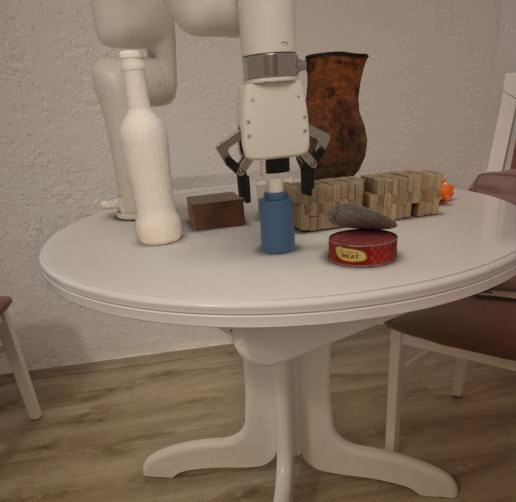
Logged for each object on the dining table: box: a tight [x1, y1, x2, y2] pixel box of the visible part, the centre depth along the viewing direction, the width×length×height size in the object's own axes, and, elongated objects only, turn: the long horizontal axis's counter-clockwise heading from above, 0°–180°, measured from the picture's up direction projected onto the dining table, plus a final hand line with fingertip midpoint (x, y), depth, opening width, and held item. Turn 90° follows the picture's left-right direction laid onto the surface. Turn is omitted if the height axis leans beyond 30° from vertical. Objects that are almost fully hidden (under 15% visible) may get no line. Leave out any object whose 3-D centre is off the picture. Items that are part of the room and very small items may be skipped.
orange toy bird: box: [440, 177, 456, 202], centre depth 102 cm, size 5×8×12 cm
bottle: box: [118, 49, 182, 246], centre depth 82 cm, size 8×8×30 cm
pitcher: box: [295, 50, 370, 181], centre depth 111 cm, size 17×21×30 cm
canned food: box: [327, 203, 399, 268], centre depth 70 cm, size 11×10×10 cm
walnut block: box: [186, 191, 246, 232], centre depth 98 cm, size 10×10×5 cm
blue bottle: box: [258, 177, 296, 255], centre depth 76 cm, size 5×5×11 cm
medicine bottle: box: [256, 157, 295, 220], centre depth 98 cm, size 7×7×12 cm
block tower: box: [284, 168, 444, 232], centre depth 91 cm, size 8×8×29 cm
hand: (277, 198), depth 74 cm, fingers open, 9 cm apart
